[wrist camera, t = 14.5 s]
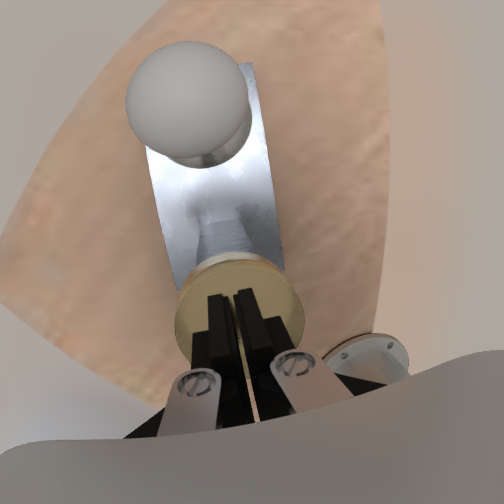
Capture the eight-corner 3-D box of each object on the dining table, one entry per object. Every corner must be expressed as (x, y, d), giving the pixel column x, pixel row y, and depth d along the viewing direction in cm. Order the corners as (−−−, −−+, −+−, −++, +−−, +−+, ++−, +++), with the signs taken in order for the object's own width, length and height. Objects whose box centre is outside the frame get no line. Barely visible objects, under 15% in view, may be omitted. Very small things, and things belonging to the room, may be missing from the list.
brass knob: (277, 301, 19) (308, 365, 13) (195, 317, 19) (193, 388, 12) (265, 220, 17) (297, 255, 11) (175, 237, 17) (159, 282, 11)
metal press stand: (280, 264, 28) (328, 335, 16) (178, 284, 27) (162, 369, 16) (249, 67, 23) (282, 2, 11) (139, 87, 22) (89, 37, 10)
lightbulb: (236, 81, 21) (258, 23, 11) (234, 159, 23) (254, 158, 13) (155, 81, 20) (117, 27, 10) (152, 159, 22) (107, 161, 12)
